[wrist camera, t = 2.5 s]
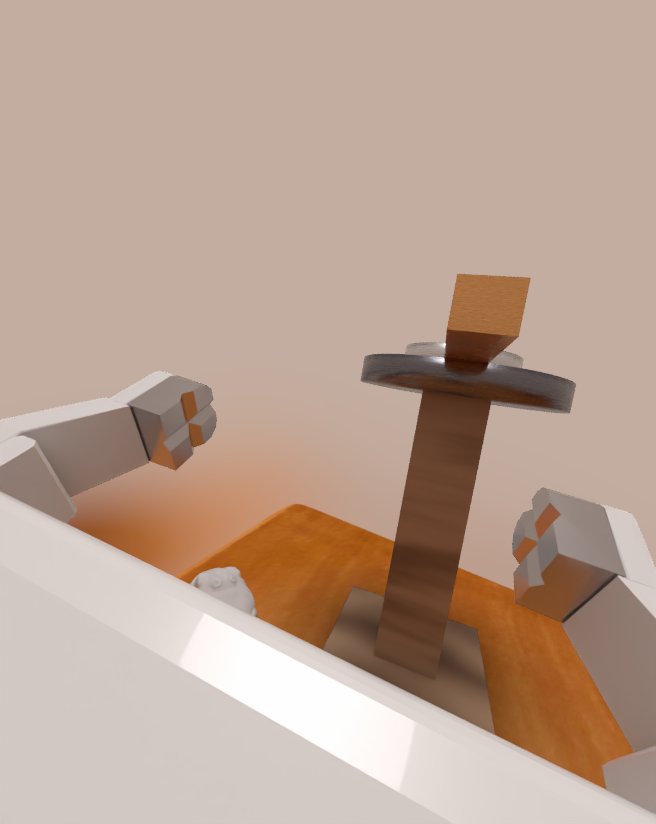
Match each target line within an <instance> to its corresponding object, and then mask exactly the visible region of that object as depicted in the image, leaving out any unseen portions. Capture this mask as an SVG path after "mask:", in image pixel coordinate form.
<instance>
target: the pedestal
mask: <svg viewBox="0 0 656 824" xmlns="http://www.w3.org/2000/svg"><path fill="white" fill-rule="evenodd" d="M361 381H362V382H365V383H369V384H374V385H379V386H383V387H388V388H393V389H399V390H404V391H410V392H415V393H422V399H421V405H420V410H419V415H418V421H417V426H416V431H415V436H414V442H413V447H412V452H411V458H410V463H409V469H408V474H407V480H406V485H405V490H404V496H403V501H402V506H401V511H400V517H399V523H398V527H397V533H396V538H395V543H394V549H393V554H392V559H391V565H390V570H389V576H388V581H387V586H386V592H385V597H384V596H381V595H378V594H375V593H372V592H369V591H366V590H364V589H361V588H358V587H355V586H353V588H352V590H351V592H350V594H349V597H348V599H347V601H346V603H345V605H344V607H343V609H342V611H341V613H340V615H339V617H338V619H337V621H336V624H335V626H334V628H333V630H332V632H331V634H330V636H329V638H328V640H327V642H326V644H325V646H324V648H323V650H324V651H326V652H328V653H330V654H332V655H334V656H336V657H338V658H340V659H342V660H344V661H346V662H348V663H350V664H352V665H354V666H356V667H358V668H360V669H362V670H364V671H366V672H368V673H370V674H372V675H374V676H376V677H378V678H381V679H383V680H385V681H387V682H389V683H391V684H393V685H395V686H397V687H399V688H401V689H403V690H405V691H407V692H409V693H411V694H413V695H415V696H417V697H419V698H421V699H423V700H425V701H427V702H429V703H431V704H433V705H435V706H437V707H439V708H441V709H443V710H445V711H447V712H449V713H452V714H454V715H456V716H458V717H460V718H462V719H464V720H466V721H468V722H470V723H472V724H474V725H476V726H478V727H480V728H482V729H484V730H486V731H488V732H490V733H492V734H494V735H495V731H494V726H493V720H492V714H491V708H490V702H489V696H488V690H487V684H486V678H485V672H484V666H483V661H482V655H481V649H480V643H479V637H478V631H477V629H476V628H473V627H470V626H467V625H464V624H461V623H458V622H455V621H453V620H450V619H448V614H449V609H450V604H451V599H452V594H453V589H454V584H455V579H456V574H457V569H458V564H459V559H460V554H461V549H462V544H463V539H464V534H465V529H466V524H467V519H468V514H469V510H470V504H471V499H472V495H473V489H474V484H475V480H476V475H477V470H478V465H479V460H480V455H481V449H482V445H483V440H484V434H485V430H486V425H487V420H488V415H489V410H490V405H498V406H505V407H513V408H520V409H527V410H536V411H544V412H554V413H570V410H571V405H572V401H573V396H574V392H575V387H576V384H575V383H574V382H572V381H570V380H568V379H565V378H562V377H558V376H554V375H550V374H546V373H542V372H537V371H532V370H528V369H522V368H517V367H511V366H505V365H499V364H492V363H486V362H478V361H471V360H463V359H454V358H445V357H435V356H423V355H407V354H374V355H368V356H366V357H365V359H364V365H363V371H362V376H361Z"/></svg>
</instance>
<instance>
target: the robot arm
mask: <svg viewBox="0 0 656 824" xmlns="http://www.w3.org/2000/svg"><path fill="white" fill-rule="evenodd" d="M212 400H213V396H212V390H211V388H209V387H208V386H207V385H204V384H201V383H198V382H195V381H192V380H189V379H186V378H183V377H180V376H176V375H173V374H170V373H167V372H164V371H156V372H154V373H152V374H150V375H149V376H147V377H145V378H144V379H142V380H140V381H138V382H137V383H135V384H133V385H132V386H130V387H128V388H127V389H125V390H123V391H121V392H120V393H118V394H116V395H115V396H113V397H111V398H110V399H108V398H105V397H104V398H99V399H95V400H89V401H85V402H80V403H75V404H71V405H66V406H61V407H57V408H52V409H47V410H42V411H38V412H33V413H28V414H24V415H19V416H14V417H10V418H5V419H0V824H656V568H655V565H654V563H653V560H652V558H651V555H650V553H649V551H648V548H647V546H646V544H645V541H644V538H643V536H642V534H641V531H640V529H639V526H638V524H637V521H636V519H635V517H634V516H633V515H632V514H631V513H630V512H627V511H623V510H619V509H616V508H613V507H609V506H606V505H602V504H596V503H593V502H590V501H587V500H583V499H580V498H576V497H573V496H570V495H566V494H563V493H560V492H556V491H553V490H550V489H546V488H541V489H540V490H539V491H537V493H536V494H535V496H534V497H533V499H532V504H533V510H529V511H527V512H524V513H523V514H522V515H521V517H520V519H519V520H518V522H517V525H516V528H515V531H514V535H513V543H512V545H513V546H512V548H513V555H514V557H515V558H516V560H517V561H518V562H519V564H520V565H519V566H518V568H517V569H516V571H515V572H514V590H515V604H518V605H520V606H522V607H525V608H527V609H529V610H532V611H534V612H537V613H539V614H541V615H544V616H546V617H549V618H551V619H553V620H556V621H558V622H561V623H563V624H562V627H563V629H564V631H565V632H566V634H567V636H568V638H569V639H570V641H571V643H572V645H573V646H574V648H575V650H576V652H577V653H578V655H579V657H580V659H581V660H582V662H583V664H584V666H585V667H586V669H587V671H588V672H589V674H590V676H591V678H592V679H593V681H594V683H595V685H596V686H597V688H598V690H599V692H600V693H601V695H602V697H603V699H604V700H605V702H606V704H607V706H608V707H609V709H610V711H611V713H612V714H613V716H614V718H615V720H616V721H617V723H618V725H619V727H620V728H621V730H622V732H623V733H624V735H625V737H626V739H627V740H628V742H629V744H630V746H631V747H632V749H633V751H634V753H632V754H629V755H626V756H623V757H620V758H617V759H614V760H610V761H609V762H607V763H606V764H604V765H603V766H602V767H603V773H604V779H605V785H606V789H604V788H602V787H600V786H598V785H596V784H593V783H591V782H589V781H587V780H585V779H583V778H581V777H579V776H577V775H575V774H573V773H571V772H569V771H567V770H565V769H563V768H561V767H559V766H557V765H555V764H553V763H551V762H549V761H547V760H545V759H543V758H541V757H539V756H537V755H535V754H533V753H531V752H529V751H527V750H525V749H522V748H520V747H518V746H516V745H514V744H512V743H510V742H508V741H506V740H504V739H502V738H500V737H498V736H496V735H494V734H492V733H490V732H488V731H486V730H484V729H482V728H480V727H478V726H476V725H474V724H472V723H470V722H468V721H466V720H464V719H462V718H460V717H458V716H456V715H454V714H452V713H449V712H447V711H445V710H443V709H441V708H439V707H437V706H435V705H433V704H431V703H429V702H427V701H425V700H423V699H421V698H419V697H417V696H415V695H413V694H411V693H409V692H407V691H405V690H403V689H401V688H399V687H397V686H395V685H393V684H391V683H389V682H387V681H385V680H383V679H381V678H378V677H376V676H374V675H372V674H370V673H368V672H366V671H364V670H362V669H360V668H358V667H356V666H354V665H352V664H350V663H348V662H346V661H344V660H342V659H340V658H338V657H336V656H334V655H332V654H330V653H328V652H326V651H324V650H322V649H320V648H318V647H316V646H314V645H312V644H310V643H307V642H305V641H303V640H301V639H299V638H297V637H295V636H293V635H291V634H289V633H287V632H285V631H283V630H281V629H279V628H277V627H275V626H273V625H271V624H269V623H267V622H265V621H263V620H261V619H259V618H257V617H255V616H253V615H251V614H249V613H247V612H245V611H243V610H241V609H239V608H236V607H234V606H232V605H230V604H228V603H226V602H224V601H222V600H220V599H218V598H216V597H214V596H212V595H210V594H208V593H206V592H204V591H202V590H200V589H198V588H196V587H194V586H192V585H190V584H188V583H186V582H184V581H182V580H180V579H178V578H176V577H174V576H171V575H170V574H168V573H165V572H163V571H161V570H159V569H157V568H155V567H153V566H151V565H149V564H147V563H145V562H143V561H141V560H139V559H137V558H135V557H133V556H131V555H129V554H127V553H125V552H123V551H121V550H119V549H117V548H115V547H113V546H111V545H109V544H107V543H105V542H103V541H101V540H98V539H96V538H94V537H92V536H90V535H88V534H86V533H84V532H82V531H80V530H78V529H76V528H74V527H72V526H70V525H68V524H66V523H67V522H68V521H69V520H70V519H72V518H73V517H74V516H75V515H76V512H77V508H76V507H75V505H74V503H73V502H72V500H71V498H70V497H72V496H74V495H77V494H79V493H81V492H83V491H86V490H88V489H90V488H93V487H95V486H97V485H99V484H102V483H104V482H106V481H109V480H111V479H113V478H115V477H118V476H120V475H122V474H124V473H127V472H129V471H131V470H133V469H136V468H138V467H140V466H143V465H145V464H147V463H149V461H151V462H154V463H156V464H159V465H162V466H165V467H168V468H170V469H173V470H177V469H178V468H179V467H180V466H181V465H182V464H183V463H184V462H185V461H186V460H187V459H188V458H190V457H191V456H192V455H193V451H194V447H196V446H199V445H202V444H204V443H205V442H206V441H207V440H209V438H211V436H212V434H213V432H214V430H215V428H216V421H217V419H216V412H215V411H214V410H213V408H212V407H211V405H210V403H211V402H212Z"/></svg>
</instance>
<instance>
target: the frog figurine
mask: <svg viewBox="0 0 656 824" xmlns="http://www.w3.org/2000/svg"><path fill="white" fill-rule="evenodd" d="M240 577H241V573H240V571H239V570H238V569H237V568H235V567H226V568H214V569H211V570H208V571H205V572H202V573H200V574H199V575H198V576H197V577H196V578H195V579H194V580H193V581H192V582H191V584H190V585H192V586H194V587H196V588H198V589H200V590H202V591H204V592H206V593H208V594H210V595H212V596H214V597H216V598H218V599H220V600H222V601H224V602H226V603H228V604H230V605H232V606H234V607H236V608H239V609H241V610H243V611H245V612H247V613H249V614H251V615H253V616H255V617H257V611H256V609H255V608H254V607H255V602H254V598H253V595H252V593H251V591H250V590H249V589H248V588H247V586H246V584H245V581H244V580H243V579H242V578H240Z"/></svg>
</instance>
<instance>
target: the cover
mask: <svg viewBox="0 0 656 824" xmlns="http://www.w3.org/2000/svg"><path fill="white" fill-rule="evenodd" d="M529 283H530V278H524V277H506V276H487V275H468V274H467V275H466V274H457V280H456V284H455V290H454V295H453V300H452V306H451V311H450V317H449V321H448V327H447V335H446V343H436V342H430V343H429V342H425V343H414V344H410V345H407V347H406V353H405V354H407V355H423V356H435V357H445V358H454V359H463V360H471V361H478V362H486V363H492V364H499V365H505V366H511V367H517V368H522V364H523V358H522V357H520V356H518V355H516V354H513V353H509V352H506V351H503V350H504V349H505V348H506V347H507V346H509V345H510V344H511V343H512V342H513V341H514V340H515V339H516V338H517V337H519V332H520V326H521V322H522V317H523V312H524V307H525V302H526V297H527V293H528V287H529Z"/></svg>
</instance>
